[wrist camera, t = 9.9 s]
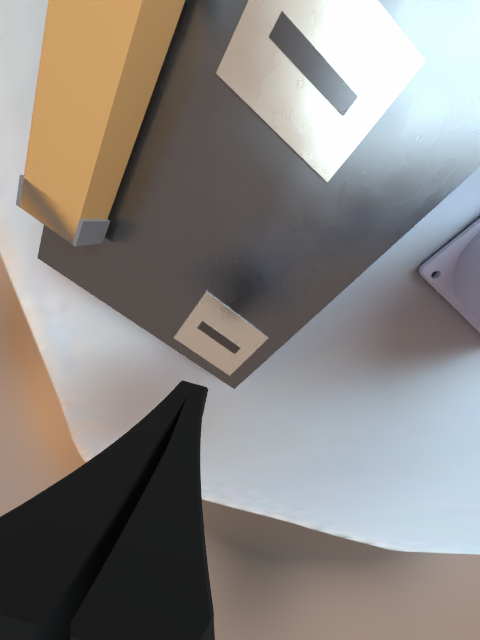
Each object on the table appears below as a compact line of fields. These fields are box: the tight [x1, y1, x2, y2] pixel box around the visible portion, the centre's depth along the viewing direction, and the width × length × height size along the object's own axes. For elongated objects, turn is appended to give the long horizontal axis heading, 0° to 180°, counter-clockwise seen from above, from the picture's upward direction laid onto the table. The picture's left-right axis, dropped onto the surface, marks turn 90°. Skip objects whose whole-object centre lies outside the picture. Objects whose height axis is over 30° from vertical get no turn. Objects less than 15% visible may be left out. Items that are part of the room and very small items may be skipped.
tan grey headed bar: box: [16, 0, 185, 247], centre depth 9 cm, size 15×4×2 cm, turn 143°
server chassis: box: [38, 0, 480, 389], centre depth 12 cm, size 18×22×3 cm
